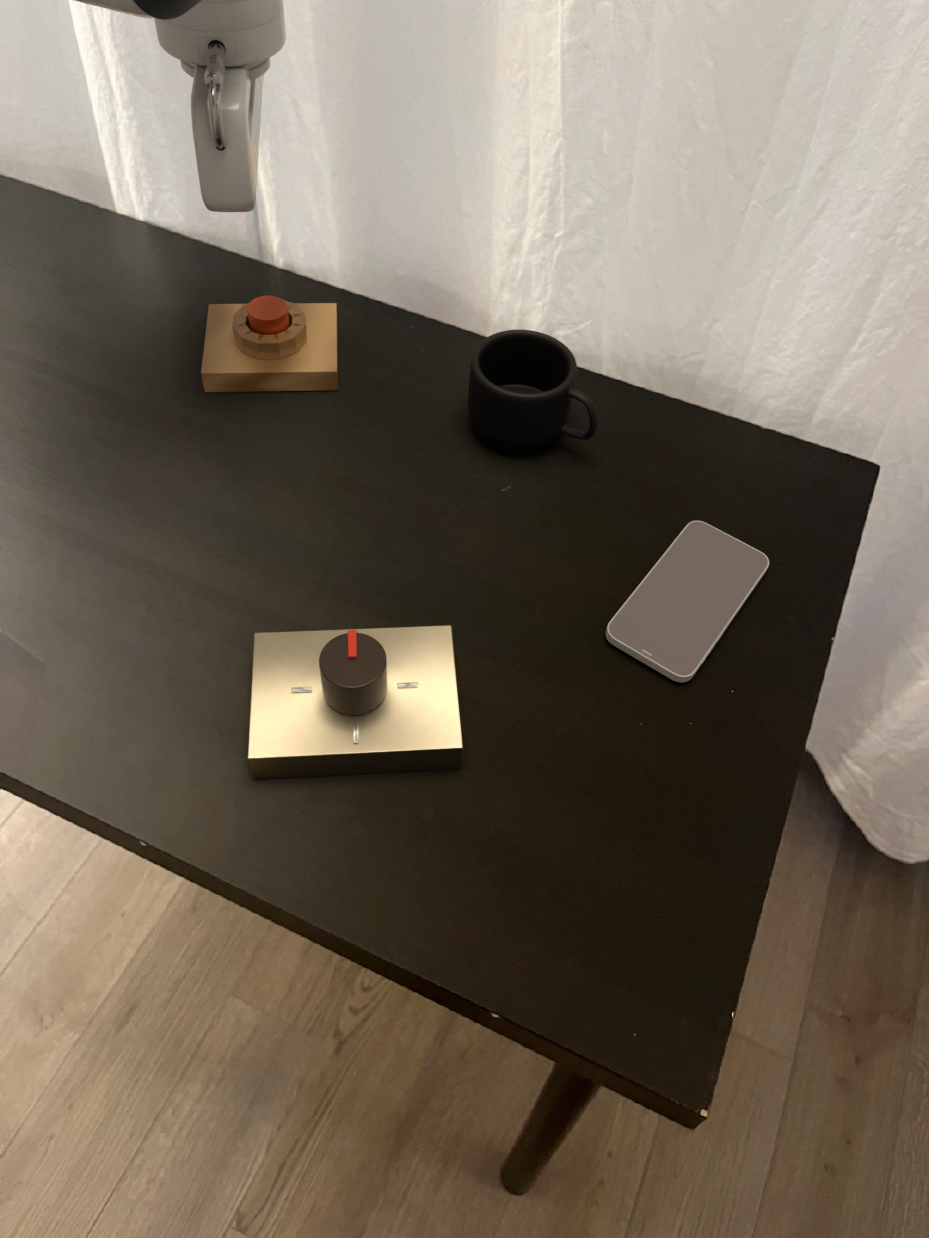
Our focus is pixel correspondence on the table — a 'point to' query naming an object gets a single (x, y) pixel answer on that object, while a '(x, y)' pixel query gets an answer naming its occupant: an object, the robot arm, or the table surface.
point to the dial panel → (354, 744)
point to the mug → (524, 390)
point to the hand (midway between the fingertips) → (244, 201)
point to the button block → (271, 351)
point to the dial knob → (353, 673)
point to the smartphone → (687, 600)
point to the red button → (268, 315)
